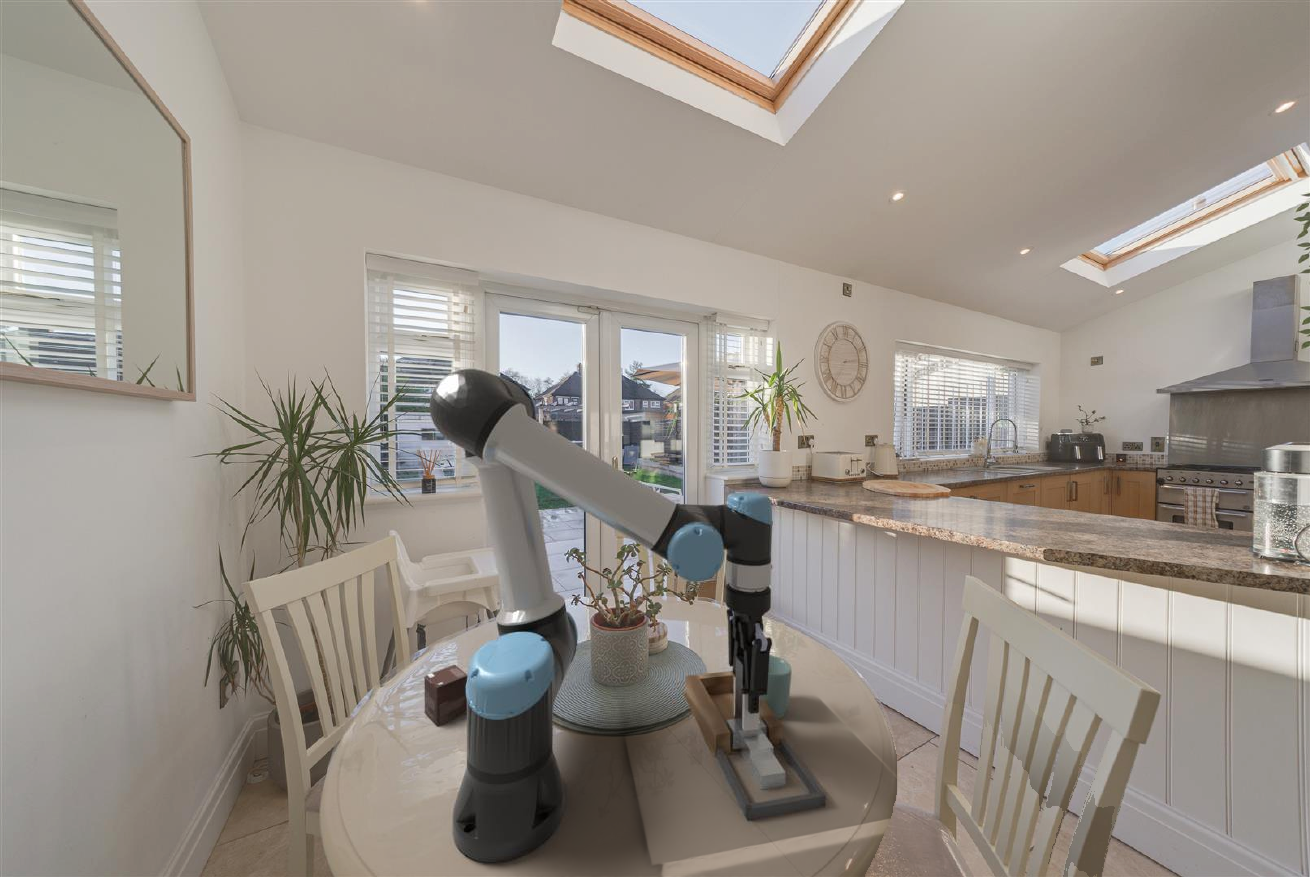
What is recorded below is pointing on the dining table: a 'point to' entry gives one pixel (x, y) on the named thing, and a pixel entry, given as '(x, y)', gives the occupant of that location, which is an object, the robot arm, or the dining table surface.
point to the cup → (778, 686)
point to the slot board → (722, 710)
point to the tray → (778, 805)
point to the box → (445, 694)
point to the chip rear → (754, 745)
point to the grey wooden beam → (740, 707)
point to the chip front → (767, 771)
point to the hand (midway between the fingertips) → (746, 721)
